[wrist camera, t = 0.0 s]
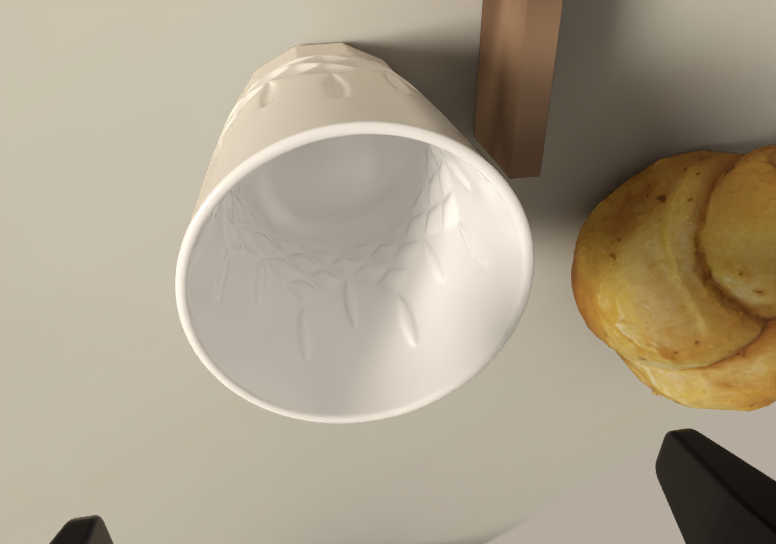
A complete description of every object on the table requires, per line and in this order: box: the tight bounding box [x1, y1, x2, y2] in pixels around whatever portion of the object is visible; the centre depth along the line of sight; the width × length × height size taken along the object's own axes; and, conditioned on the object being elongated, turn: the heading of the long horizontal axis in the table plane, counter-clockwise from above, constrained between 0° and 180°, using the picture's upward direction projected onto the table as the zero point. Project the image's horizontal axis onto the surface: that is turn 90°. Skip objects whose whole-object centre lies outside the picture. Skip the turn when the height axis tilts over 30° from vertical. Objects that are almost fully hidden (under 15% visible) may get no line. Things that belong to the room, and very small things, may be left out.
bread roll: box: [571, 145, 776, 411], centre depth 24 cm, size 13×10×8 cm
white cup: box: [175, 43, 534, 423], centre depth 17 cm, size 8×8×10 cm
